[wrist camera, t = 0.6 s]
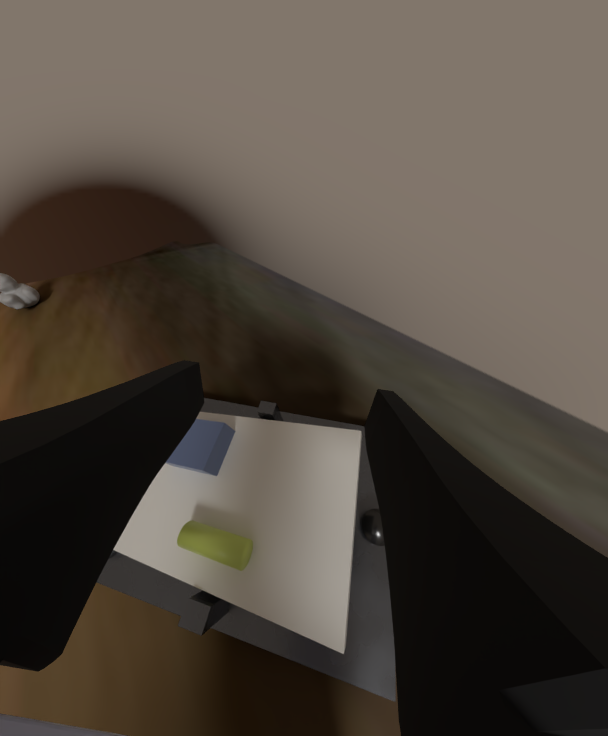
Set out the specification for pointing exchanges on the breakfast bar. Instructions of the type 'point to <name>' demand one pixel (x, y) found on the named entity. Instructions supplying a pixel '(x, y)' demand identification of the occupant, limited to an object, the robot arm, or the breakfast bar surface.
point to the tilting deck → (257, 519)
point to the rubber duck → (17, 293)
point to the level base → (204, 611)
